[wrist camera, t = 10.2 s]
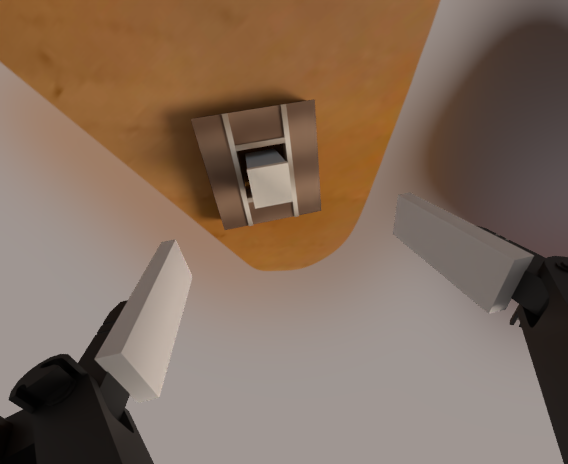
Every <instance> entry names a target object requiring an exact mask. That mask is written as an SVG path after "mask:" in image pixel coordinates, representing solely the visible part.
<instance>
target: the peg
mask: <svg viewBox="0 0 568 464" xmlns="http://www.w3.org/2000/svg"><path fill="white" fill-rule="evenodd" d="M245 156H246V163H247V173H248V178H249V183H250V187H251V192H252V196H253V201H254V205H255V209H257V208H262V207H267V206H272V205H277V204H282V203H287V202H292V201H293V198H292V190H291V182H290V174H289V166H288V162H287V161H285V160H284V159H283V158H282V157H281V155H280V154H279V153H278V152H277V151H276V150H275V149H274V148H273V149H267V150H262V151H256V152H250V153H245Z"/></svg>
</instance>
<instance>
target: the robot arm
mask: <svg viewBox="0 0 568 464" xmlns="http://www.w3.org/2000/svg"><path fill="white" fill-rule="evenodd" d="M393 234H394V235H395V236H396V237H397V238H398V239H400V240H401V241H402V242H403V243H405V244H406V245H407V246H408V247H409V248H411V249H412V250H413V251H414V252H415V253H416V254H418V255H419V256H420V257H421V258H422V259H424V260H425V261H426V262H427V263H428V264H430V265H431V266H432V267H433V268H434V269H436V270H437V271H438V272H440V274H442V275H443V276H444V277H445V278H447V279H448V280H449V281H450V282H451V283H452V284H454V285H455V286H456V287H457V288H458V289H460V290H461V291H462V292H463V293H464V294H466V295H467V296H468V297H469V298H470V299H472V300H473V301H474V302H475V303H476V304H478V305H479V306H480V307H481V308H482V309H484V310H485V311H486V312H487V313H493V312H497V311H501V310H505V309H506V308H507V306H508V304H509V302H510V300H511V298H512V299H514V300H515V301H516V302H517V303H519V305H518V307H517V309H516V311H515V313H514V314H513V316H512V318H511V320H510V325H514V323H515V322H516V320H518V319H519V320H520V325H519V327H521V328H522V330H523V333H524V336H525V340H526V343H527V345H528V349H529V353H530V356H531V359H532V362H533V365H534V368H535V372H536V375H537V378H538V381H539V385H540V387H541V391H542V394H543V397H544V400H545V404H546V407H547V410H548V414H549V417H550V420H551V423H552V426H553V430H554V433H555V436H556V439H557V443H558V446H559V449H560V452H561V455H562V459H563V462H564V464H568V257H561V256H552V257H548V258H544V257H543V256H541V255H539V254H537V253H535V252H533V251H531V250H529V249H526V248H524V247H522V246H520V245H518V244H516V243H514V242H512V241H510V240H509V241H508V240H507V239H506V238H504V237H502V236H498V234H496V233H494V232H492V231H490V230H488V229H486V228H483V227H479V226H475V225H473V224H471V223H469V222H467V221H465V220H463V219H461V218H459V217H457V216H455V215H453V214H451V213H449V212H447V211H445V210H443V209H441V208H439V207H437V206H435V205H434V204H432V203H430V202H428V201H426V200H423V199H422V198H420V197H418V196H416V195H414V194H412V193H405V194H400V195H398V200H397V207H396V215H395V223H394V230H393ZM191 280H192V275H191V273H190V270H189V268H188V266H187V264H186V261H185V259H184V257H183V255H182V253H181V250H180V248H179V246H178V244H177V242H176V240H171V241H165V242H161V244H160V246H159V247H158V249H157V251H156V253H155V255H154V256H153V258H152V260H151V261H150V263H149V265H148V267H147V268H146V270H145V272H144V274H143V275H142V277H141V279H140V280H139V282H138V284H137V286H136V287H135V289H134V291H133V293H132V295H131V296H130V298H129V300H127V301H123V302H120V303H119V304H118V305H117V306H116V307H115V308H114V309H113V310H112V311H111V312H110V313H109V315H108V316H107V318H106V319H105V321H104V323H103V325H102V326H101V327H100V329H99V330H98V332H97V335H95V337H94V338H93V340H92V342H91V343H90V345H89V346H88V348H87V349H86V351H85V353H84V354H83V356H82V357H81V359H80V361H79V362H78V363H77V362H75V360H74V359H72V358H71V357H70V356H69V355H68V354H59V355H57V356H53V357H50V358H49V359H47V360H45V361H43V362H41V363H39V364H38V365H37V366H35V367H34V368H32V369H31V370H30V371H28V372H27V373H26V374H25V375H24V376H23V377H22V378H21V379H20V380H19V381H18V382H17V384H16V385H15V387H14V388H13V390H12V391H11V393H10V397H9V400H10V401H11V402H13V403H14V404H16V405H18V406H19V407H21V408H22V409H23V410H21V411H19V412H17V413H15V414H13V415H11V416H9V417H7V418H5V419H4V418H3V417H1V416H0V464H154V463H153V461H152V459H151V457H150V454H149V452H148V451H147V448H146V446H145V444H144V442H143V440H142V438H141V436H140V434H139V432H138V430H137V428H136V425H135V423H134V421H133V419H132V417H131V415H130V413H129V411H128V410H127V409H126V408H125V406H126V403H127V400H128V398H129V395H130V396H131V397H132V398H133V399H134V400H135V401H136V402H137V403H140V402H144V401H148V400H152V399H156V398H159V397H160V393H161V390H162V386H163V382H164V379H165V375H166V371H167V368H168V364H169V360H170V357H171V353H172V349H173V346H174V342H175V339H176V335H177V331H178V328H179V324H180V321H181V317H182V313H183V310H184V306H185V302H186V299H187V295H188V292H189V288H190V284H191Z"/></svg>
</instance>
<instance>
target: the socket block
mask: <svg viewBox="0 0 568 464" xmlns="http://www.w3.org/2000/svg"><path fill="white" fill-rule="evenodd" d="M191 122H192V125H193V128H194V131H195V135H196V138H197V141H198V144H199V148H200V151H201V154H202V158H203V161H204V164H205V167H206V171H207V174H208V177H209V180H210V184H211V187H212V190H213V193H214V197H215V200H216V203H217V206H218V210H219V213H220V216H221V219H222V223H223V226H224V229H225V230H227V229H232V228H237V227H242V226H247V225H249V226H252V225H253V224H257V223H262V222H267V221H272V220H277V219H282V218H287V217H292V216H295V217H297V216H299V215H302V214H307V213H312V212H317V211H321V199H320V182H319V165H318V148H317V132H316V115H315V100H307V101H301V102H295V103H288V104H282V105H276V106H269V107H263V108H257V109H250V110H244V111H238V112H232V113H225V114H219V115H213V116H206V117H200V118H194V119H191ZM275 144H281V146H282V154H283V159H284V160H285V161H287V162H288V166H289V174H290V182H291V190H292V198H293V201H292V202H287V203H282V204H277V205H272V206H267V207H262V208H257V209H255V205H254V201H253V196H252V192H251V189H248V190H246V187H245V182H244V178H243V173H242V169H241V165H240V160H239V156H238V152H237V151H240V150H246V149H252V148H258V147H264V146H269V145H275Z"/></svg>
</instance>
